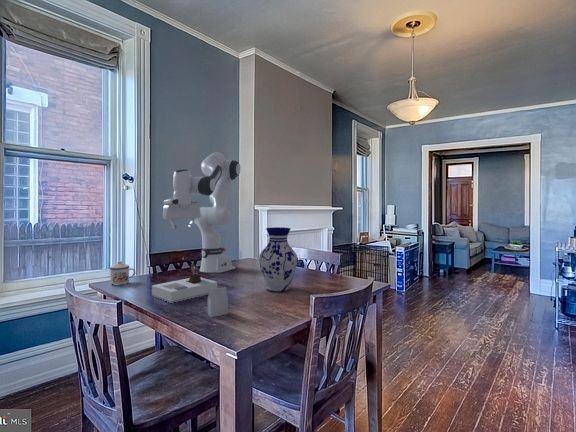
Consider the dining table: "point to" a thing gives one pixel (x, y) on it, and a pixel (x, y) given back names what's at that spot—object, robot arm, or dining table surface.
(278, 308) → the dining table surface
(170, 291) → the socket box
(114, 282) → the teacup with lid
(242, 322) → the dining table surface
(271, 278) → the vase
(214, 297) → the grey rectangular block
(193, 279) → the utensil holder
